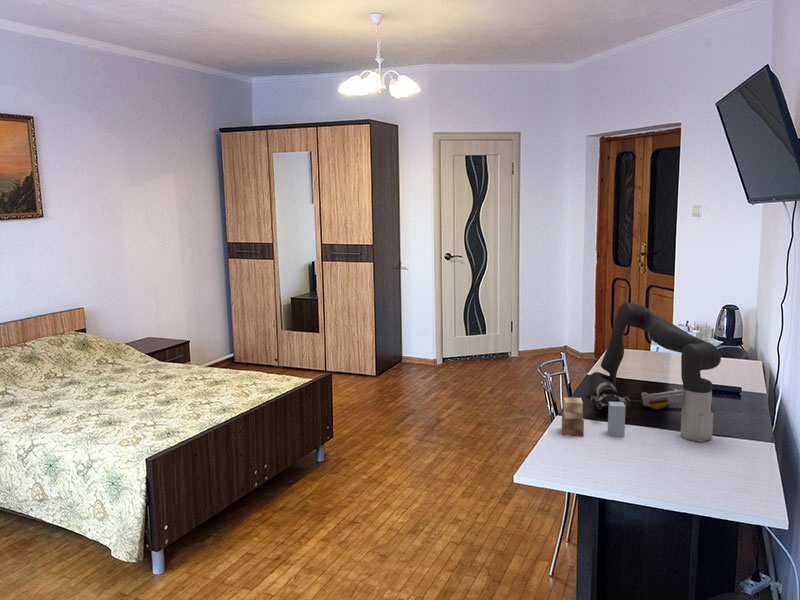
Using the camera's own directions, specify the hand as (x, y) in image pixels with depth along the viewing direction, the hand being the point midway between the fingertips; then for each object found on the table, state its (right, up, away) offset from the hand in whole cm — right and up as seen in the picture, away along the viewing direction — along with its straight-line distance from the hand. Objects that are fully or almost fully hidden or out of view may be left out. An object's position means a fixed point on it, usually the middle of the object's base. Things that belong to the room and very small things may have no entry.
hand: (612, 407), depth 242 cm
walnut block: (-17, -8, -6) cm, 19 cm away
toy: (+30, -4, +16) cm, 34 cm away
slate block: (-2, -8, -9) cm, 12 cm away
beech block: (-17, -2, -7) cm, 18 cm away
